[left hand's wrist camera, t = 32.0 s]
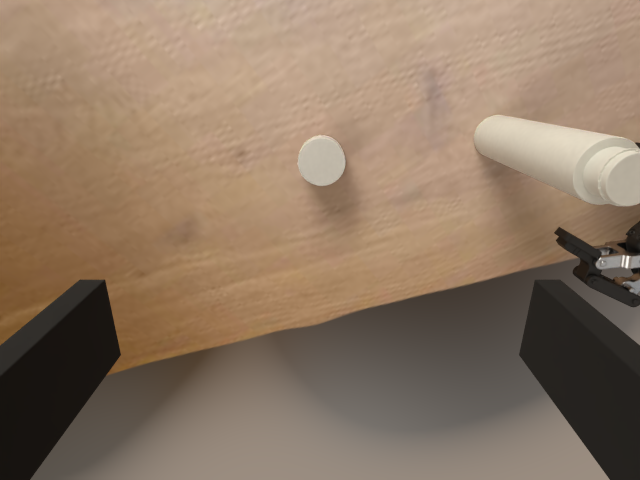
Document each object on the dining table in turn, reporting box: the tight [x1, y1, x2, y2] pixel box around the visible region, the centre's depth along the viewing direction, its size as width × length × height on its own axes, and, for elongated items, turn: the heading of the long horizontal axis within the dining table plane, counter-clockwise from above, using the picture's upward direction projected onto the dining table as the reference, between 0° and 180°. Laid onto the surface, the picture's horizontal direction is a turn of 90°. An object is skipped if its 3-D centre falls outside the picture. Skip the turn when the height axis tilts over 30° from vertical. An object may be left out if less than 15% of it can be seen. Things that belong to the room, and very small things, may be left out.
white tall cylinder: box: [474, 115, 640, 206], centre depth 31 cm, size 4×4×19 cm
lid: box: [298, 135, 346, 186], centre depth 39 cm, size 4×4×2 cm
